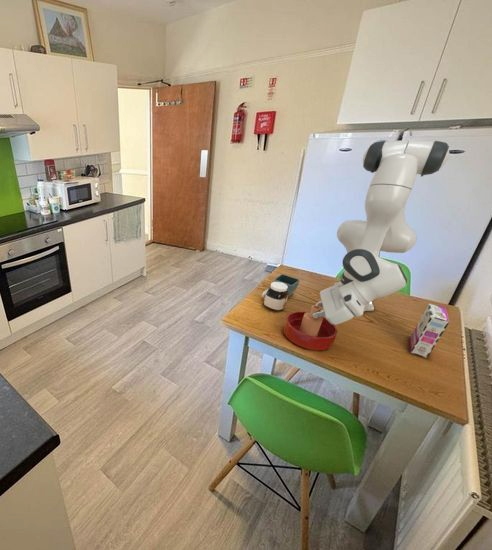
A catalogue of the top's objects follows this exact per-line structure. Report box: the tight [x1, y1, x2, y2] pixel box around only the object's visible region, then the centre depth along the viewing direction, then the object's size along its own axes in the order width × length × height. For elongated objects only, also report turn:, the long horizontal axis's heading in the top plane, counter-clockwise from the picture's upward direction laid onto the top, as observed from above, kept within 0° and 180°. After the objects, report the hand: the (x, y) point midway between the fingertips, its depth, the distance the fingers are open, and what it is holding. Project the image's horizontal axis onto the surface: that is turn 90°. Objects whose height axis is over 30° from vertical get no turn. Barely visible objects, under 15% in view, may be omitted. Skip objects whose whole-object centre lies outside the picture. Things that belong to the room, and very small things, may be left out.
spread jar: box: [261, 281, 289, 312], centre depth 137 cm, size 12×11×12 cm
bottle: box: [299, 304, 323, 337], centre depth 115 cm, size 6×6×14 cm
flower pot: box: [273, 273, 301, 298], centre depth 144 cm, size 9×9×9 cm
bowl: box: [283, 311, 338, 351], centre depth 117 cm, size 17×17×6 cm
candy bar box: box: [409, 303, 450, 359], centre depth 107 cm, size 11×5×16 cm, turn 141°
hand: (312, 313), depth 113 cm, fingers closed on bottle, 3 cm apart
